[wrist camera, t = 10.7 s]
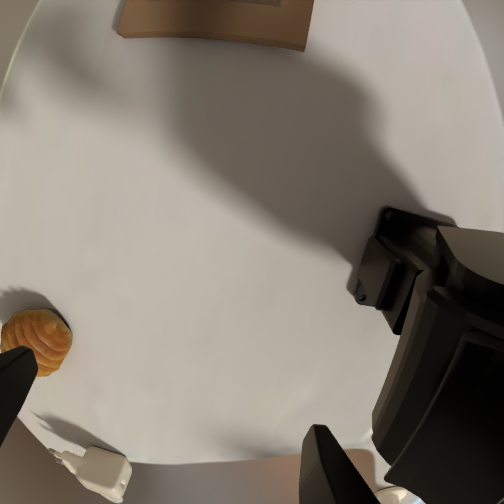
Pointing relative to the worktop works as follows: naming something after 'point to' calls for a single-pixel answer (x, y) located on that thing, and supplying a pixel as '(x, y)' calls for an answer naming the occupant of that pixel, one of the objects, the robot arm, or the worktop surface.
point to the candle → (391, 495)
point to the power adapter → (98, 470)
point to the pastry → (38, 337)
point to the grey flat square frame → (263, 0)
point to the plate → (219, 21)
